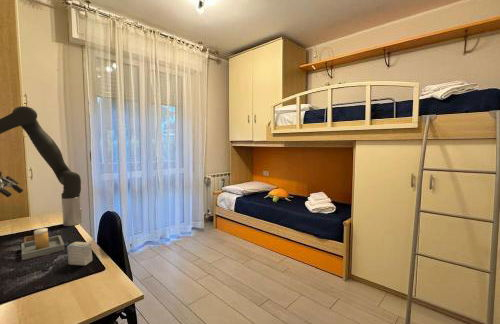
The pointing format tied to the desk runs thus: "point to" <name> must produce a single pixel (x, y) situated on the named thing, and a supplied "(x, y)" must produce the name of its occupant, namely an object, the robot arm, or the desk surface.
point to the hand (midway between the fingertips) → (16, 193)
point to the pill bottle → (41, 238)
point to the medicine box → (79, 253)
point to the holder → (29, 238)
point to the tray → (31, 252)
